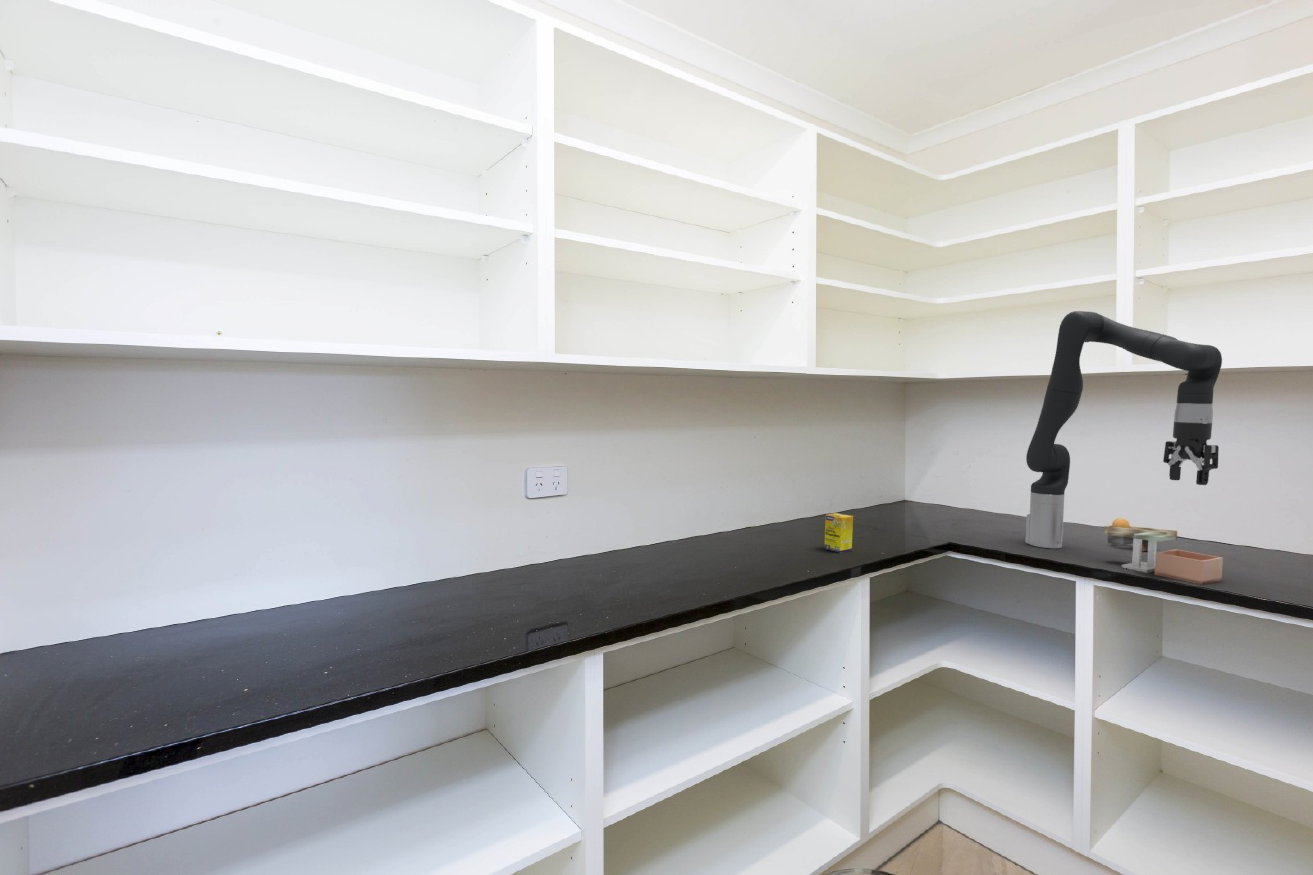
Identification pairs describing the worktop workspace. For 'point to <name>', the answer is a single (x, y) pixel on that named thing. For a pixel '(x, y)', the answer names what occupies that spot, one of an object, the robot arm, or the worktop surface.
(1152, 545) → the chute stand
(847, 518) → the supplement box
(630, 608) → the worktop surface
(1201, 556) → the pink storage bin
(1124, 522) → the ball
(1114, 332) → the robot arm
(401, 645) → the worktop surface
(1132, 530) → the chute
